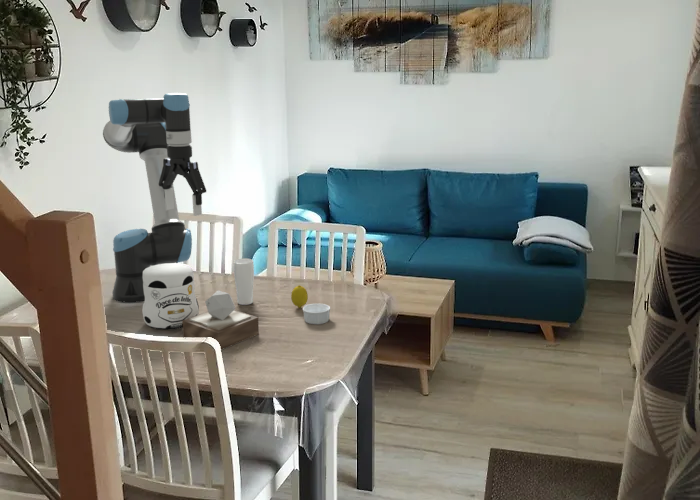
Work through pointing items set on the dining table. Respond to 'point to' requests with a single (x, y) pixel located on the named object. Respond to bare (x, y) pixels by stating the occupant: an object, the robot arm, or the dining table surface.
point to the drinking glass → (244, 280)
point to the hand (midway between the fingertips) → (183, 212)
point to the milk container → (168, 295)
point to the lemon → (299, 296)
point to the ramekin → (316, 313)
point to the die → (220, 305)
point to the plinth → (222, 327)
